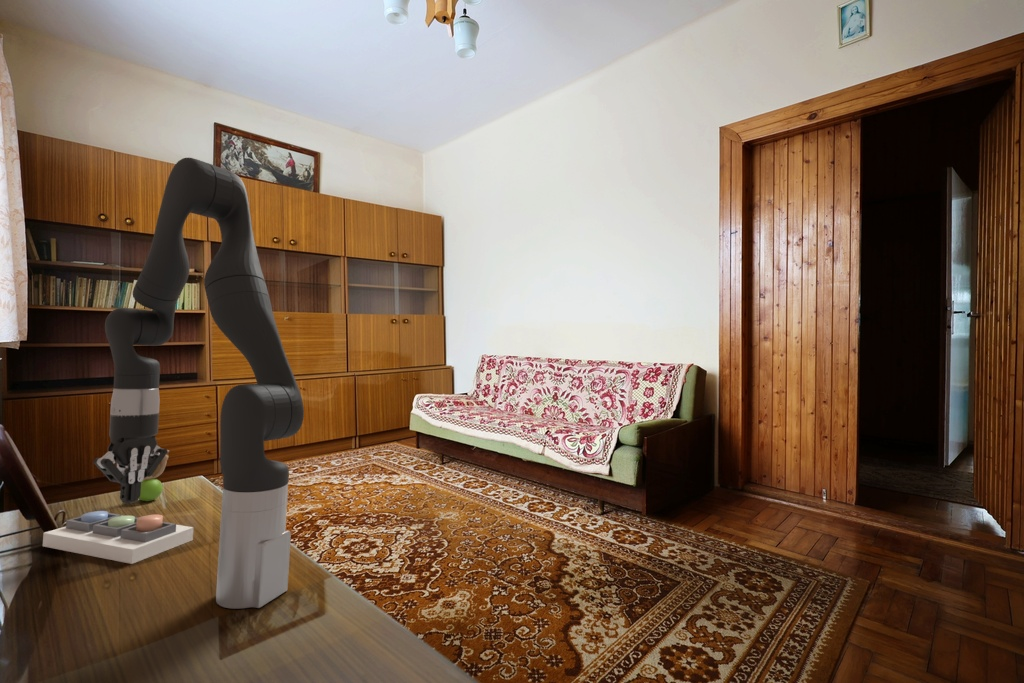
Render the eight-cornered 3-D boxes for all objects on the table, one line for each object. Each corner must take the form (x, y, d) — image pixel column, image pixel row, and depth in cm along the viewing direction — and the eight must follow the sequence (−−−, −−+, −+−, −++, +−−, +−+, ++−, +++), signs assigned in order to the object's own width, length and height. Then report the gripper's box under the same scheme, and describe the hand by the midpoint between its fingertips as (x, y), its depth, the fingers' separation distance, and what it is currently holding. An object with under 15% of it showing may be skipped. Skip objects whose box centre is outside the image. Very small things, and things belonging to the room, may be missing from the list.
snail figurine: (170, 499, 122) (173, 451, 122) (140, 505, 116) (143, 455, 117) (160, 495, 125) (163, 448, 125) (130, 501, 119) (134, 451, 120)
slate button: (112, 522, 97) (113, 512, 97) (90, 528, 94) (91, 518, 94) (97, 519, 98) (98, 509, 98) (75, 526, 95) (76, 515, 95)
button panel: (192, 540, 97) (194, 519, 97) (131, 563, 85) (133, 540, 86) (110, 525, 103) (111, 506, 103) (42, 546, 91) (44, 524, 91)
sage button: (139, 527, 96) (139, 516, 96) (118, 534, 92) (118, 523, 92) (123, 524, 97) (124, 514, 97) (102, 531, 93) (102, 520, 93)
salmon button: (167, 526, 94) (168, 516, 94) (146, 533, 90) (147, 522, 90) (151, 523, 95) (152, 513, 95) (130, 530, 91) (131, 519, 91)
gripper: (114, 416, 87) (108, 514, 86) (181, 409, 100) (177, 495, 99) (83, 414, 89) (77, 510, 88) (153, 408, 102) (148, 491, 101)
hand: (130, 502), depth 93 cm, fingers closed
